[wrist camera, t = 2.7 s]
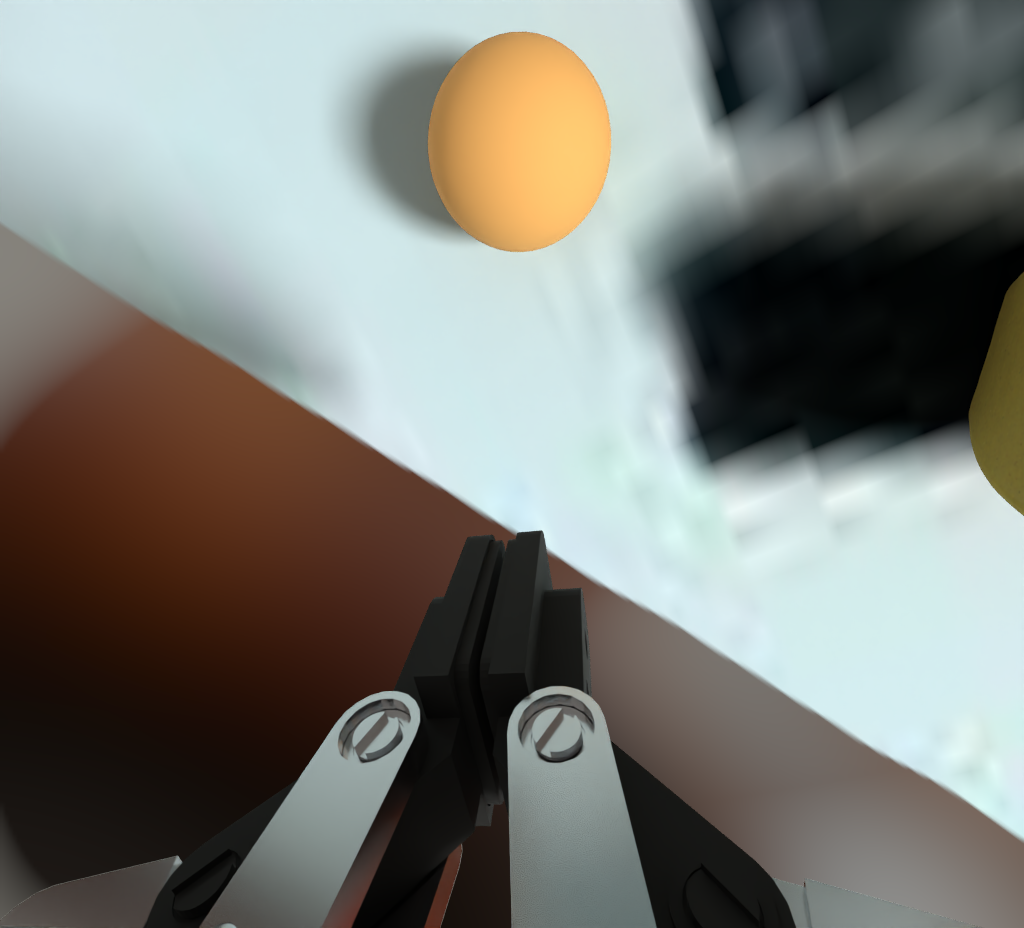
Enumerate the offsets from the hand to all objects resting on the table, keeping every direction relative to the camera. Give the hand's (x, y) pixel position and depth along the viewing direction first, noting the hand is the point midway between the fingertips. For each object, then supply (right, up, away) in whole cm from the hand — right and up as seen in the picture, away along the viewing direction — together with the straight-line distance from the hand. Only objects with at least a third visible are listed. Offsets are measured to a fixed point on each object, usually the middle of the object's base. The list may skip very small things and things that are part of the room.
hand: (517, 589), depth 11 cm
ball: (0, +12, +4) cm, 13 cm away
